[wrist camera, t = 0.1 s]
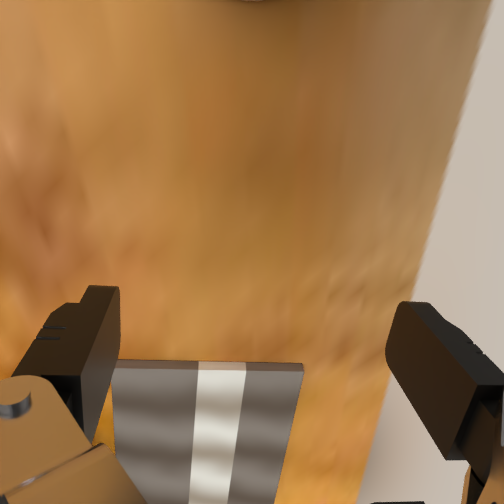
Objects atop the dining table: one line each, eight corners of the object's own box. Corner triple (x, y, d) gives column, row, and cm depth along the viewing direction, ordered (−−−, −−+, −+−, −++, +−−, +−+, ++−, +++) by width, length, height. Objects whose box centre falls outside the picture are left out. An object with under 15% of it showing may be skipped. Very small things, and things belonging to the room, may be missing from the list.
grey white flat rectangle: (112, 359, 34) (110, 368, 33) (301, 363, 36) (304, 371, 35) (120, 504, 43) (118, 514, 42) (270, 501, 45) (272, 510, 44)
